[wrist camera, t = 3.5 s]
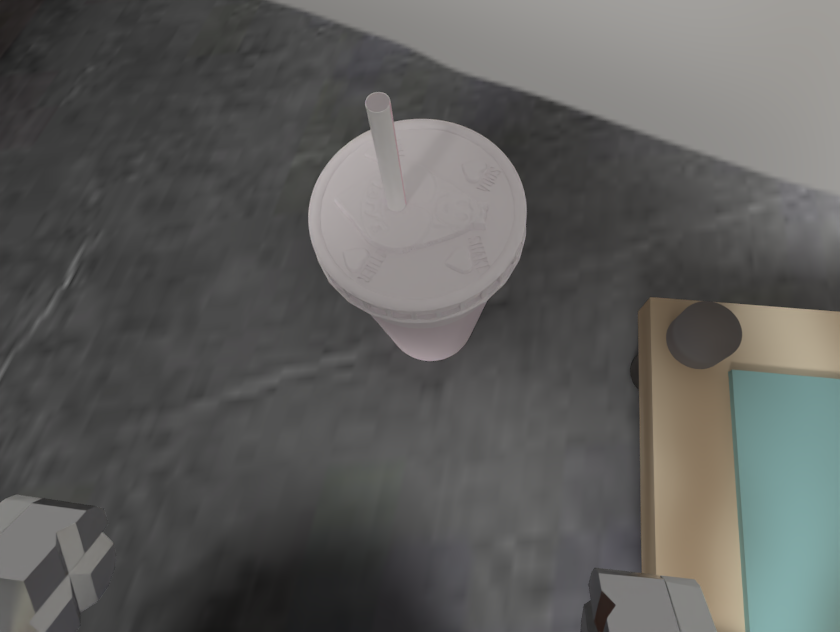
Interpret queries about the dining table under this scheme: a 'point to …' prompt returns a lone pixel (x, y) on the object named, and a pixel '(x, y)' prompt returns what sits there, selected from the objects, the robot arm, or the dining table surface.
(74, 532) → the robot arm
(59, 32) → the dining table surface
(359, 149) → the smoothie
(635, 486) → the dining table surface
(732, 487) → the peg shelf
